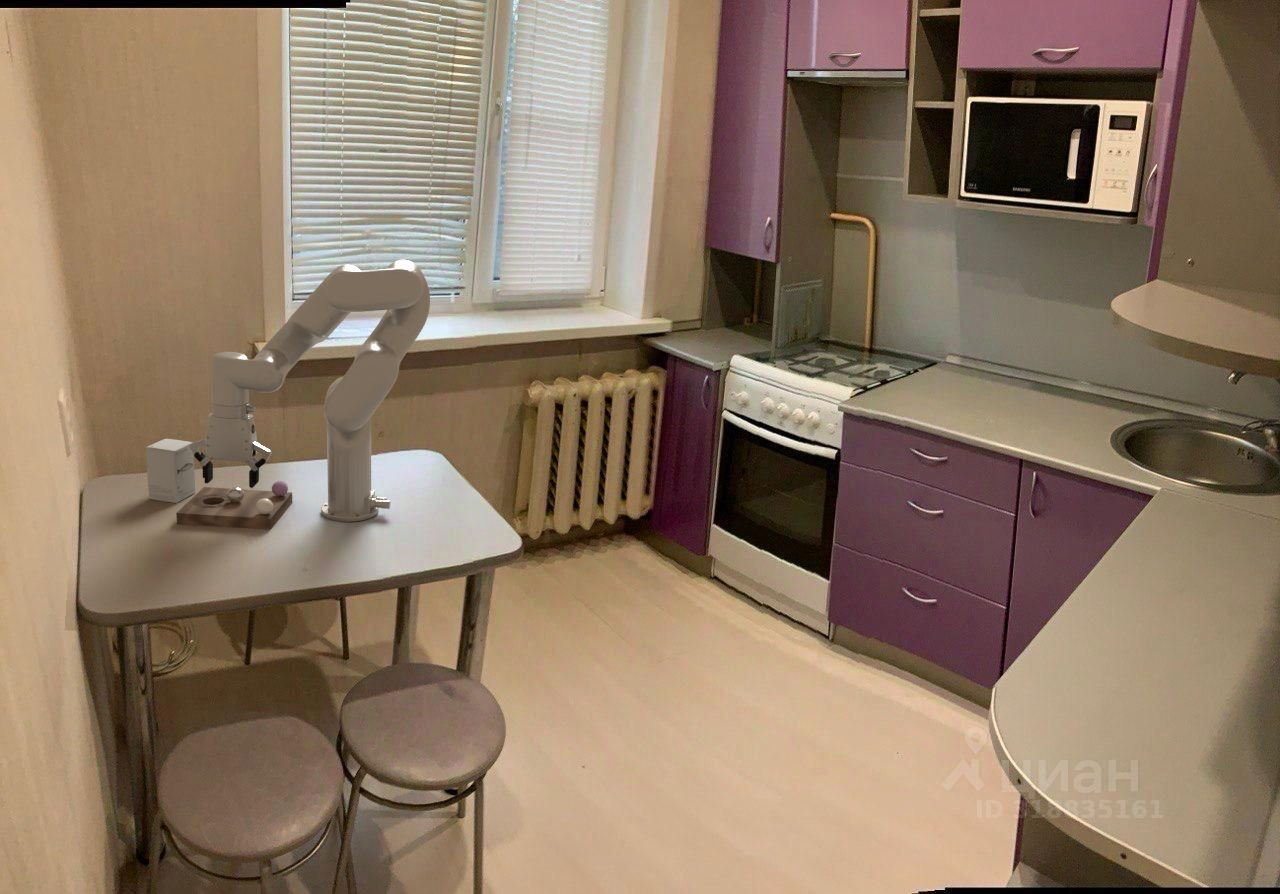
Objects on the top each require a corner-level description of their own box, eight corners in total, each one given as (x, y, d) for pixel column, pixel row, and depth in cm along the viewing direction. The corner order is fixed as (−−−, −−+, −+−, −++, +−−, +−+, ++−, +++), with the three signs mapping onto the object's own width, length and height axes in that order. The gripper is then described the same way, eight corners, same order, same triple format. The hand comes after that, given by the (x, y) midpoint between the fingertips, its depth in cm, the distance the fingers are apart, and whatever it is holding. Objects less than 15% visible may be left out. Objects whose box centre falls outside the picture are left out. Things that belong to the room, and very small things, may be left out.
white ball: (275, 511, 228) (274, 496, 227) (270, 517, 225) (269, 502, 224) (259, 510, 228) (258, 495, 227) (254, 516, 225) (253, 501, 224)
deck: (292, 502, 240) (292, 492, 239) (270, 529, 225) (270, 518, 224) (204, 497, 239) (203, 486, 238) (177, 523, 224) (176, 513, 223)
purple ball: (290, 493, 239) (289, 479, 238) (285, 499, 235) (285, 484, 234) (274, 492, 238) (274, 478, 237) (269, 498, 235) (269, 483, 234)
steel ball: (246, 500, 233) (246, 485, 232) (241, 505, 230) (240, 491, 229) (231, 499, 233) (230, 484, 232) (225, 504, 230) (224, 490, 228)
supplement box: (177, 504, 234) (173, 451, 230) (147, 499, 236) (143, 446, 232) (197, 493, 241) (193, 441, 237) (168, 488, 242) (164, 437, 239)
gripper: (276, 408, 229) (275, 481, 234) (196, 400, 228) (197, 474, 233) (265, 418, 221) (265, 493, 227) (182, 410, 220) (184, 485, 226)
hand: (230, 483), depth 230 cm, fingers open, 9 cm apart
